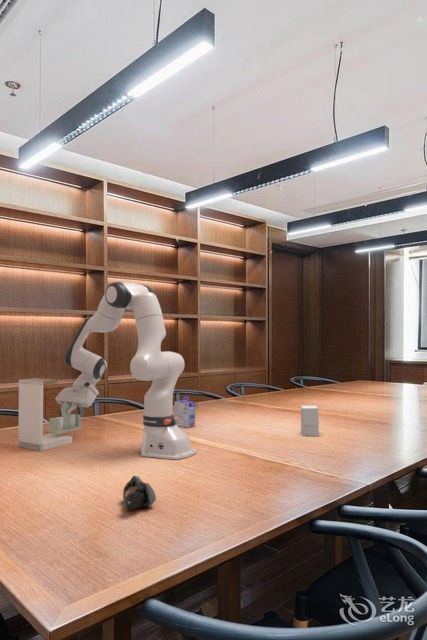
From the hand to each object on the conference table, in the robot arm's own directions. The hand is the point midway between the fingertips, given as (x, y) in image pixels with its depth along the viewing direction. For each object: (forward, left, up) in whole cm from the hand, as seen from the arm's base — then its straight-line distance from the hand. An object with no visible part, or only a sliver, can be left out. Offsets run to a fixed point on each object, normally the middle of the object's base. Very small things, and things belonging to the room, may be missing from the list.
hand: (65, 412), depth 202 cm
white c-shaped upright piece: (0, +10, -12) cm, 16 cm away
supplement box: (-87, -66, -12) cm, 110 cm away
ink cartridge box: (-27, -52, -12) cm, 60 cm away
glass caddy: (0, 0, -8) cm, 8 cm away
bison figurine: (-78, +42, -12) cm, 89 cm away
